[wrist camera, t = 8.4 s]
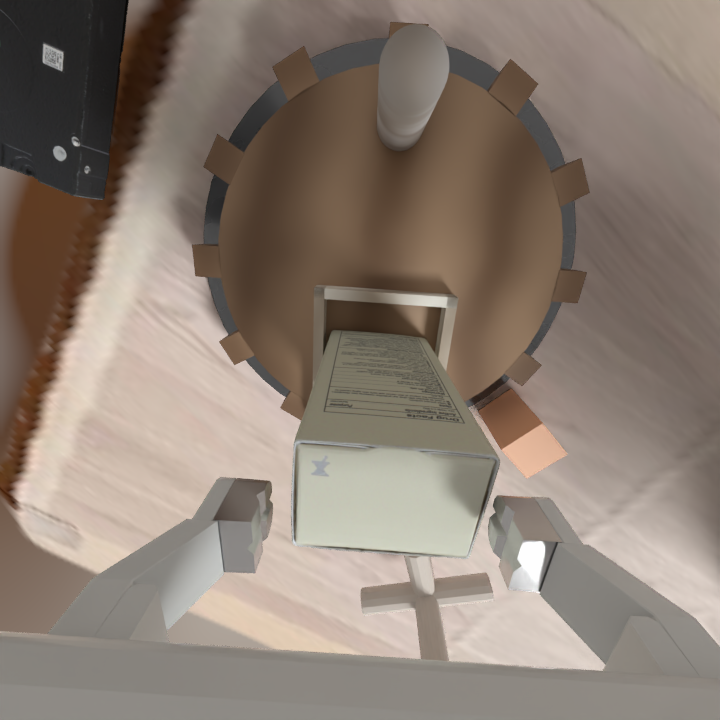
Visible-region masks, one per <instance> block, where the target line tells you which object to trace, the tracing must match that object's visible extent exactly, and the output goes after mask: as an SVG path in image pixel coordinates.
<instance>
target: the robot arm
mask: <svg viewBox="0 0 720 720" xmlns="http://www.w3.org/2000/svg"><path fill="white" fill-rule="evenodd" d="M271 493H272V485H271V482H270V481H264V480H253V479H242V478H237V479H236V478H226V477H220V478H219V479H217V480H216V482H215V484H214V485H213V487H212V488H211V490H210V491H209V493H208V495H207V496H206V498H205V499H204V501H203V503H202V504H201V506H200V507H199V509H198V510H197V512H196V514H195V515H194V517H193V518H192V519H186V520H184V521H183V522H181V523H180V524H178V525H177V526H175V527H173V528H172V529H170V530H169V531H167V532H165V533H164V534H162V535H161V536H159V537H157V538H156V539H154V540H153V541H151V542H149V543H148V544H146V545H145V546H143V547H142V548H140V549H138V550H137V551H135V552H134V553H132V554H130V555H129V556H127V557H126V558H124V559H122V560H121V561H119V562H118V563H116V564H115V565H113V566H111V567H110V568H108V569H107V570H105V571H103V572H102V573H100V574H99V575H97V576H95V577H94V578H92V580H91V581H90V582H89V583H88V584H87V586H86V587H85V588H84V589H83V591H82V592H81V593H80V594H79V595H78V597H77V598H76V599H75V600H74V602H73V603H72V604H71V605H70V607H69V608H68V609H67V610H66V612H65V613H64V614H63V615H62V616H61V618H60V619H59V620H58V622H57V623H56V624H55V625H54V626H53V628H52V629H51V630H50V631H49V632H48V634H34V633H19V632H3V631H0V720H720V647H719V645H718V644H717V643H716V642H715V641H714V640H713V638H712V637H711V636H710V635H709V634H708V633H707V631H706V630H705V629H704V628H703V627H702V625H701V624H700V623H699V622H698V621H697V620H696V618H694V617H693V616H691V615H690V614H688V613H687V612H685V611H684V610H682V609H681V608H680V607H678V606H677V605H675V604H674V603H672V602H671V601H669V600H668V599H667V598H665V597H664V596H662V595H661V594H659V593H658V592H656V591H655V590H654V589H652V588H651V587H649V586H648V585H646V584H645V583H643V582H642V581H640V580H639V579H638V578H636V577H635V576H633V575H632V574H630V573H629V572H627V571H626V570H625V569H623V568H622V567H620V566H619V565H617V564H616V563H614V562H613V561H612V560H610V559H609V558H607V557H606V556H604V555H603V554H601V553H600V552H598V551H597V550H596V549H594V548H593V547H591V546H590V545H584V544H583V543H582V542H581V540H580V539H579V538H578V536H577V535H576V533H575V532H574V530H573V529H572V528H571V526H570V525H569V523H568V522H567V520H566V519H565V518H564V516H563V515H562V513H561V512H560V510H559V509H558V508H557V506H556V505H555V503H554V502H553V501H552V500H551V499H550V498H543V497H531V498H530V497H517V496H499V495H497V497H496V498H495V500H494V503H493V507H494V509H495V512H496V513H495V514H493V515H492V516H491V517H490V519H489V524H488V536H489V541H490V545H491V548H492V550H493V552H494V553H495V554H496V555H497V556H498V557H499V558H500V559H501V560H500V564H499V568H500V571H501V573H502V576H503V578H504V581H505V583H506V586H507V588H508V590H518V591H528V592H539V593H540V595H541V596H542V597H543V599H544V600H545V601H546V602H547V603H548V604H549V605H550V606H551V607H552V608H553V609H554V610H555V611H556V612H557V613H558V614H559V616H560V617H561V618H562V619H563V620H564V621H565V622H566V623H567V624H568V625H569V626H570V627H571V628H572V629H573V630H574V632H575V633H576V634H577V635H578V636H579V637H580V638H581V639H582V640H583V641H584V642H585V643H586V644H587V645H588V646H589V648H590V649H591V650H592V651H593V652H594V653H595V654H596V655H597V656H598V657H599V658H600V659H601V660H602V661H603V662H604V663H605V667H604V669H603V671H595V670H580V669H564V668H549V667H534V666H518V665H502V664H487V663H471V662H456V661H440V660H425V659H410V658H395V657H380V656H366V655H351V654H336V653H321V652H306V651H291V650H276V649H261V648H260V649H259V648H245V647H230V646H215V645H199V644H185V643H170V642H169V639H168V634H167V630H168V629H169V628H170V627H171V626H172V625H173V624H174V623H175V622H176V621H177V620H178V619H179V618H180V617H181V616H182V615H183V614H184V613H185V612H186V611H187V610H188V609H189V608H190V607H191V606H192V605H193V604H194V603H195V602H196V601H197V600H198V599H199V598H200V597H201V596H202V595H203V594H204V593H205V592H206V591H207V590H208V589H209V588H210V587H211V586H212V585H213V584H214V583H215V582H216V581H217V580H218V579H219V578H220V577H221V576H223V575H224V572H236V573H255V572H256V569H257V566H258V564H259V561H260V558H261V555H262V552H263V547H262V542H263V541H264V540H265V539H266V538H267V537H268V534H269V531H270V527H271V522H272V515H273V503H272V502H271V501H270V500H269V499H270V496H271Z"/></svg>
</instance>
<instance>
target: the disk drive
mask: <svg viewBox="0 0 720 720" xmlns="http://www.w3.org/2000/svg"><path fill="white" fill-rule="evenodd" d="M128 3H129V0H0V166H2V167H6V168H8V169H11V170H14V171H17V172H20V173H23V174H25V175H28V176H33V177H34V178H36V179H38V181H39V182H40V183H43V184H46V185H48V186H51V187H53V188H55V189H58V190H60V191H63V192H65V193H68V194H70V195H72V196H78V197H83V198H91V199H99V200H103V199H104V198H105V197H104V191H105V185H106V179H107V175H108V167H109V148H110V140H111V128H112V121H113V112H114V105H115V98H116V95H117V92H118V85H119V82H120V63H121V54H122V52H123V46H124V37H125V28H126V17H127V11H128Z"/></svg>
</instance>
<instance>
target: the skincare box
mask: <svg viewBox="0 0 720 720" xmlns="http://www.w3.org/2000/svg"><path fill="white" fill-rule="evenodd" d="M499 465H500V459H499V457H498V456H497V454H496V452H495V451H494V449H493V447H492V446H491V444H490V443H489V441H488V439H487V438H486V436H485V434H484V433H483V431H482V429H481V428H480V427H479V425H478V423H477V422H476V420H475V418H474V417H473V415H472V413H471V412H470V410H469V408H468V407H467V405H466V404H465V402H464V400H463V399H462V397H461V395H460V394H459V392H458V390H457V389H456V387H455V386H454V384H453V382H452V381H451V379H450V377H449V376H448V374H447V372H446V371H445V369H444V368H443V366H442V364H441V363H440V361H439V359H438V357H437V356H436V354H435V353H434V351H433V350H432V348H431V346H430V345H429V343H428V341H427V340H426V339H425V338H421V337H413V336H404V335H395V334H384V333H373V332H359V331H341V330H333V331H332V332H331V334H330V337H329V340H328V343H327V346H326V349H325V352H324V355H323V358H322V361H321V364H320V367H319V370H318V373H317V376H316V379H315V382H314V385H313V388H312V391H311V394H310V397H309V400H308V403H307V406H306V409H305V412H304V415H303V418H302V421H301V424H300V426H299V429H298V432H297V435H296V438H295V442H294V454H293V470H292V495H291V526H292V542H293V544H294V545H296V546H301V547H311V548H320V549H329V550H340V551H354V552H368V553H377V554H392V555H407V556H423V557H447V558H461V559H468V558H469V557H470V555H471V551H472V548H473V545H474V542H475V539H476V537H477V534H478V531H479V528H480V525H481V522H482V520H483V517H484V513H485V510H486V507H487V504H488V501H489V498H490V495H491V492H492V489H493V485H494V482H495V478H496V475H497V472H498V469H499Z"/></svg>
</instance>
